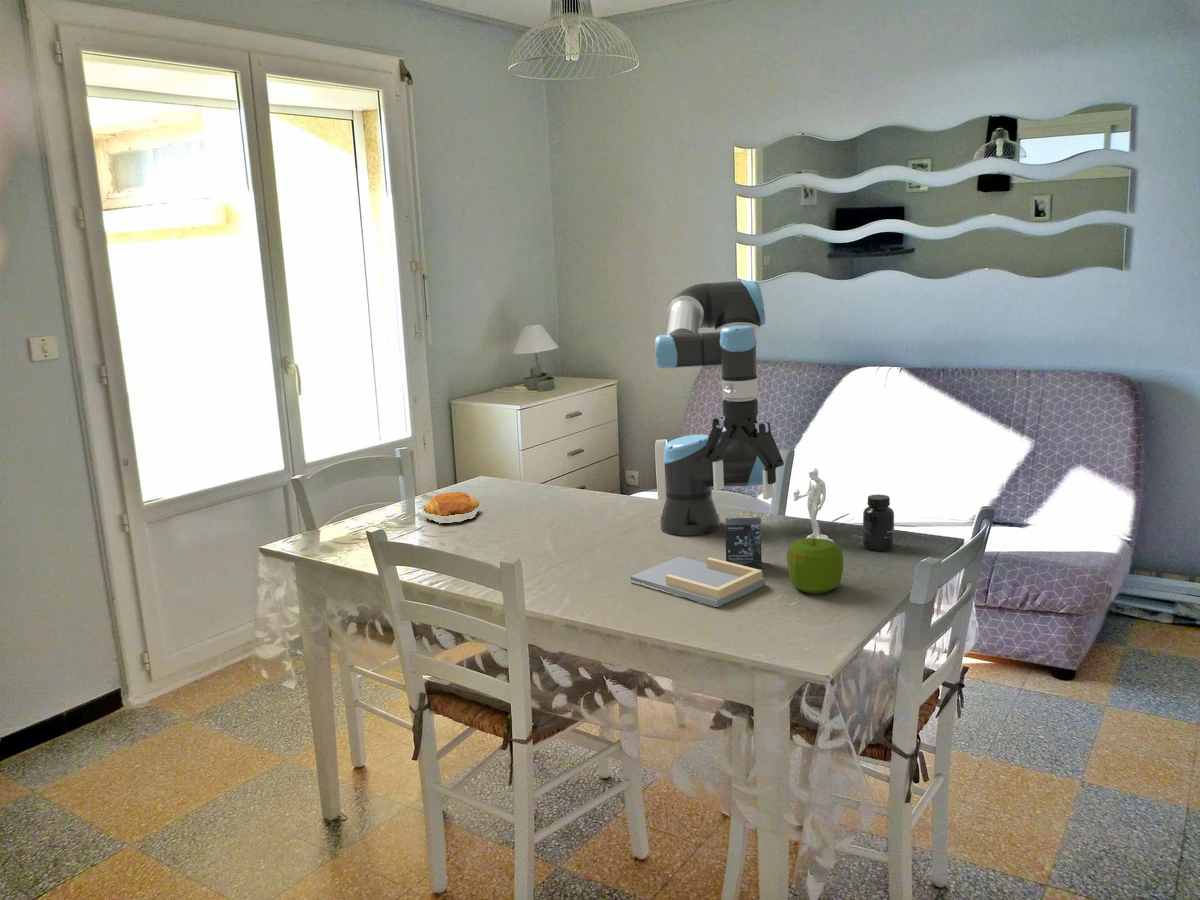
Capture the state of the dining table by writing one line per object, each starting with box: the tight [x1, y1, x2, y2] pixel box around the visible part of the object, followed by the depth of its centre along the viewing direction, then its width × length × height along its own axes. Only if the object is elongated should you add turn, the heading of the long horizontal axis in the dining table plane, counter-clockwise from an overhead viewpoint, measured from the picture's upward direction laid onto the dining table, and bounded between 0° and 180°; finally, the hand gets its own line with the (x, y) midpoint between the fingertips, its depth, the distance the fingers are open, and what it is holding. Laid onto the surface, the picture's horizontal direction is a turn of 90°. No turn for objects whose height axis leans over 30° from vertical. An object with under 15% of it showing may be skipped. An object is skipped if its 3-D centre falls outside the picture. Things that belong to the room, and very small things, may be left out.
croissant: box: [423, 491, 480, 516], centre depth 266 cm, size 14×16×8 cm
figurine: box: [792, 468, 836, 544], centre depth 224 cm, size 8×7×18 cm
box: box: [724, 516, 763, 570], centre depth 212 cm, size 8×6×11 cm
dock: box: [630, 556, 766, 608], centre depth 203 cm, size 24×16×4 cm, turn 44°
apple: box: [786, 538, 844, 595], centre depth 196 cm, size 11×11×11 cm
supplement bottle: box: [862, 494, 895, 552], centre depth 218 cm, size 7×7×12 cm
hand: (743, 493), depth 210 cm, fingers open, 13 cm apart
